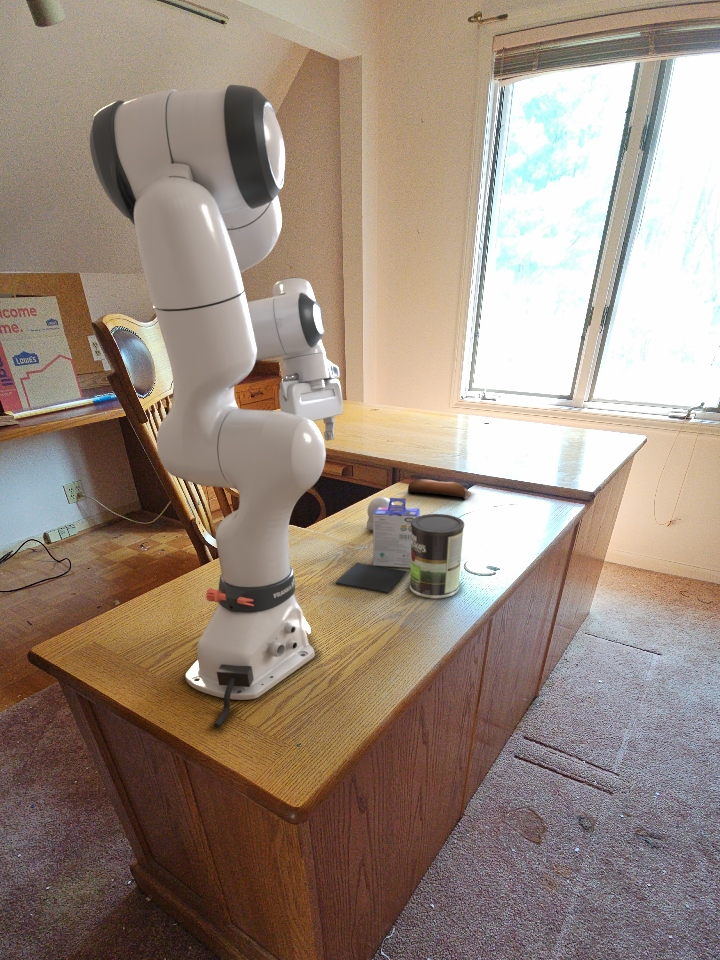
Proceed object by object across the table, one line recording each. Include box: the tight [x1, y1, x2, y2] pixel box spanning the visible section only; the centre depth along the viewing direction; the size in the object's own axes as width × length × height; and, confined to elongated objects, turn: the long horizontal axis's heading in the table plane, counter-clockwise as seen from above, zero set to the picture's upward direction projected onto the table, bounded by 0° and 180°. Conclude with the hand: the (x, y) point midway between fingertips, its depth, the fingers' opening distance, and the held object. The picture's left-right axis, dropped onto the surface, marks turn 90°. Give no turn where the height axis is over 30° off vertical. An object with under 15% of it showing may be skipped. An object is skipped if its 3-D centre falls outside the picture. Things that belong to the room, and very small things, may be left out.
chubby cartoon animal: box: [366, 496, 403, 531], centre depth 142 cm, size 7×12×8 cm, turn 56°
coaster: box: [335, 562, 408, 594], centre depth 121 cm, size 11×12×1 cm
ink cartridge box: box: [372, 497, 421, 569], centre depth 124 cm, size 10×6×14 cm, turn 78°
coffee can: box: [409, 513, 465, 600], centre depth 112 cm, size 10×10×14 cm
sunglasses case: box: [407, 478, 472, 500], centre depth 170 cm, size 18×7×7 cm, turn 64°
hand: (319, 443), depth 120 cm, fingers open, 8 cm apart
